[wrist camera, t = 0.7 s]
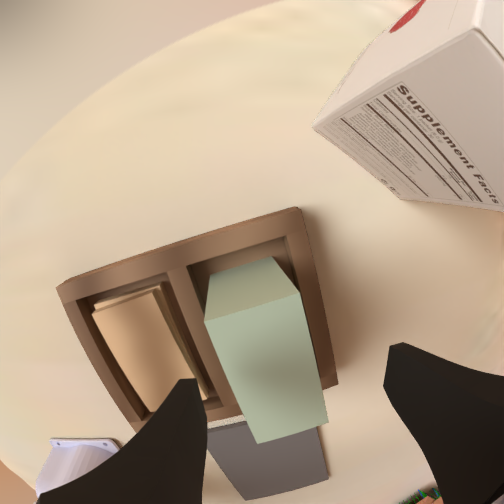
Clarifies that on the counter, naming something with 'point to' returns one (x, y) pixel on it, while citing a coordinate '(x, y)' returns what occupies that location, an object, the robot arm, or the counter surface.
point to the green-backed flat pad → (429, 498)
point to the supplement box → (428, 105)
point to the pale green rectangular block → (265, 349)
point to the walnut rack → (199, 301)
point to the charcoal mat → (267, 460)
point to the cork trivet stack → (147, 342)
